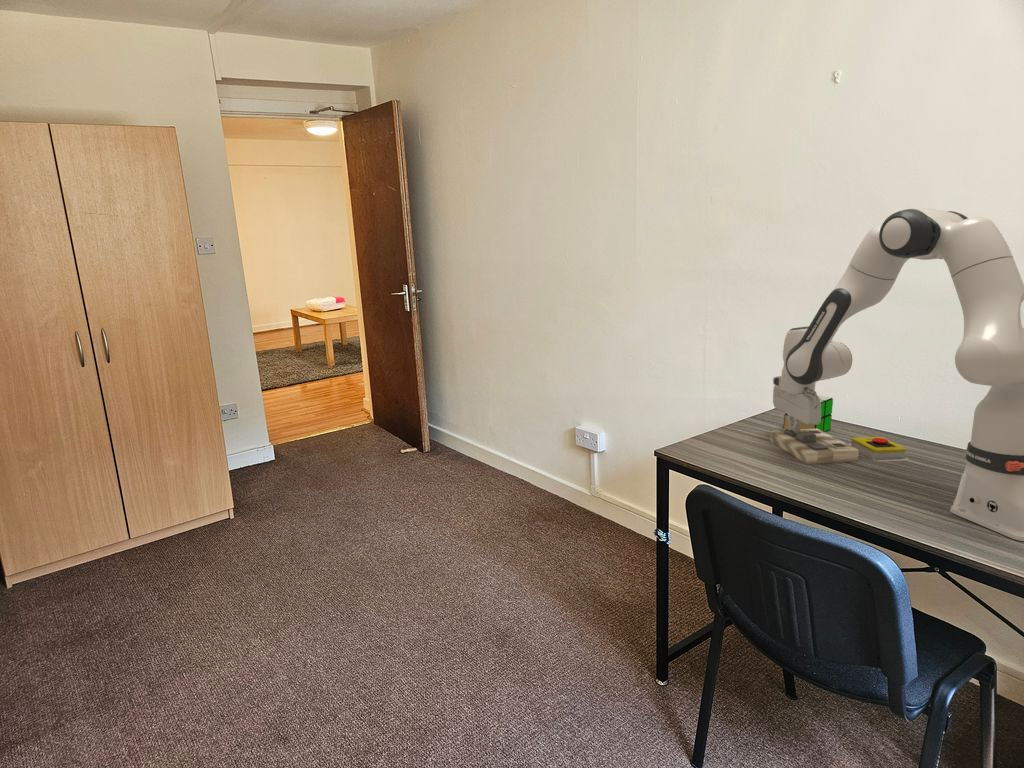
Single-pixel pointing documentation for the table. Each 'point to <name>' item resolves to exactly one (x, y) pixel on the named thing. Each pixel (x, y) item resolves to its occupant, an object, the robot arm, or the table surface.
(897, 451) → the emergency button
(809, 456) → the button board
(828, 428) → the puzzle cube
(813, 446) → the near button
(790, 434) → the far button
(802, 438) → the middle button
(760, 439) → the table surface
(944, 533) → the table surface
